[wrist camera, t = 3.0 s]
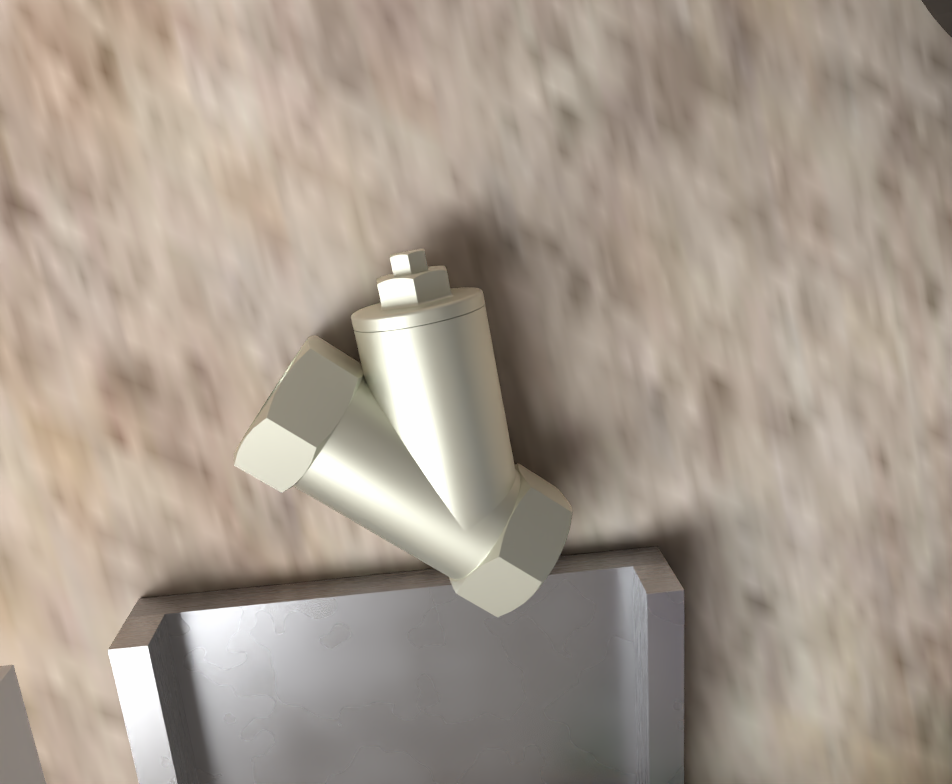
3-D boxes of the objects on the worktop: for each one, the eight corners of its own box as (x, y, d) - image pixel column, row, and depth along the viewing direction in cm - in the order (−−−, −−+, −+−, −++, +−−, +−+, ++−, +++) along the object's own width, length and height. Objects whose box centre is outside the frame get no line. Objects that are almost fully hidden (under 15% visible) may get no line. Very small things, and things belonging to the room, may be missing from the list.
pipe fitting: (383, 220, 22) (247, 429, 22) (384, 223, 18) (221, 475, 19) (621, 382, 23) (487, 571, 24) (668, 417, 19) (507, 639, 20)
